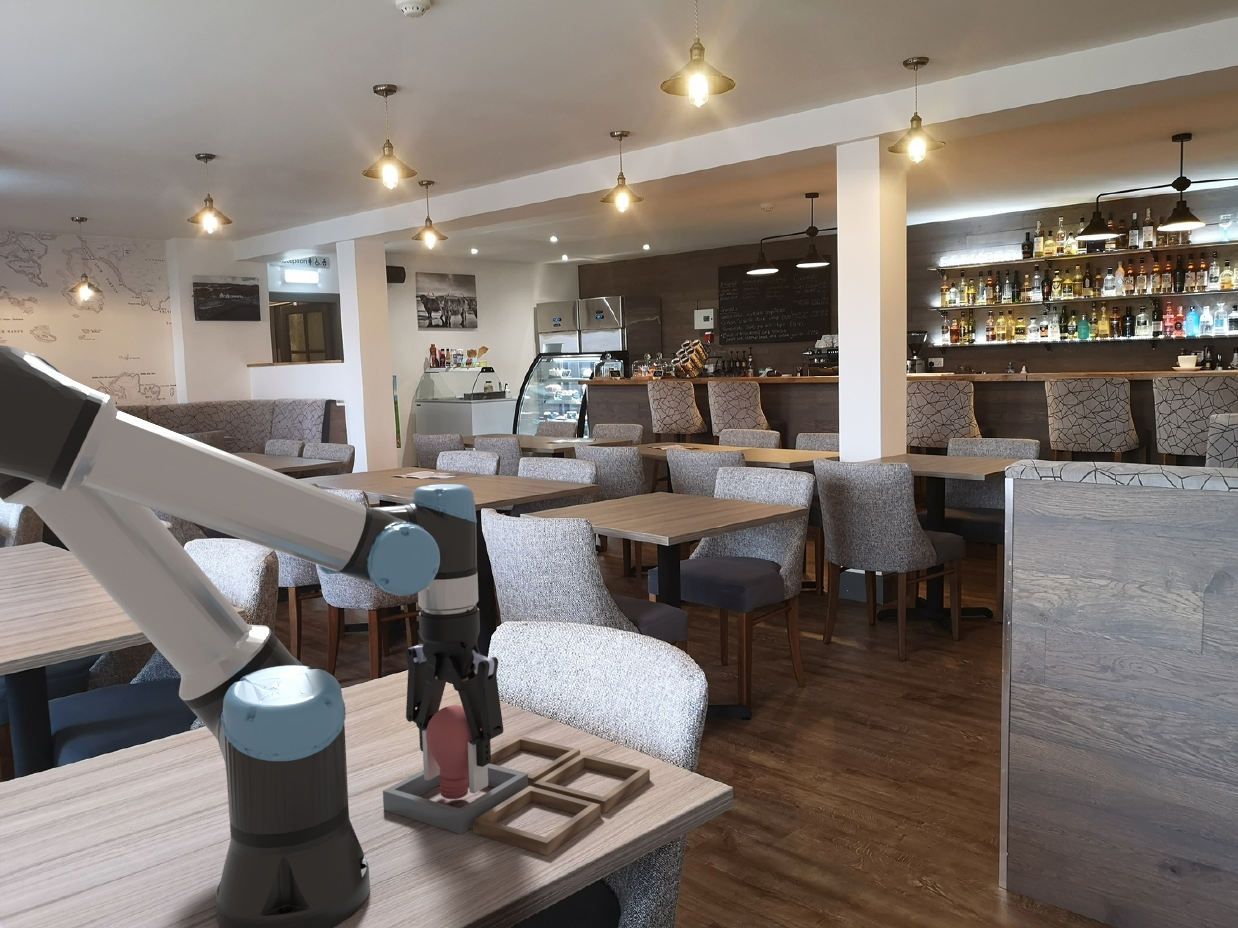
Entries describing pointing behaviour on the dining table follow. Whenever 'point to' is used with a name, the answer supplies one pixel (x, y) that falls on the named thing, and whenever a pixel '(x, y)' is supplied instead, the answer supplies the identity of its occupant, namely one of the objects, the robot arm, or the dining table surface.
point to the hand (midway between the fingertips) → (455, 781)
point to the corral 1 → (457, 820)
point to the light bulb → (450, 749)
